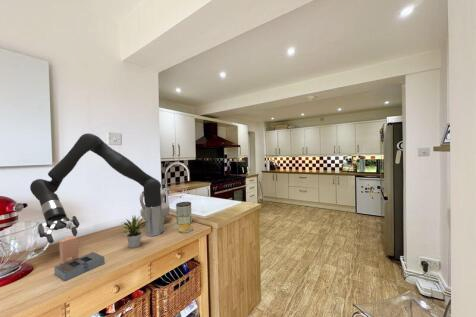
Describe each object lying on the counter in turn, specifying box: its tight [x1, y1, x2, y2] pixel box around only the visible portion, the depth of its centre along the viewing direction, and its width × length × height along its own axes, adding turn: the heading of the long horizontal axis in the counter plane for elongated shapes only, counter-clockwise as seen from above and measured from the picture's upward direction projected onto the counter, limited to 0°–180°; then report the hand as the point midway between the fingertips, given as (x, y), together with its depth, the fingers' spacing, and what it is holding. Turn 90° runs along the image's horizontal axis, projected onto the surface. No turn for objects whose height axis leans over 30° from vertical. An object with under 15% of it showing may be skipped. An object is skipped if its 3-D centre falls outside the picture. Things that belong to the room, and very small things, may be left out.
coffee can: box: [175, 201, 193, 226], centre depth 139 cm, size 10×10×14 cm
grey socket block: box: [53, 251, 105, 282], centre depth 84 cm, size 14×10×3 cm
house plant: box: [121, 215, 150, 249], centre depth 103 cm, size 14×14×16 cm
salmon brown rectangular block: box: [58, 235, 79, 265], centre depth 90 cm, size 6×4×11 cm, turn 150°
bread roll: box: [177, 224, 194, 234], centre depth 124 cm, size 8×9×4 cm
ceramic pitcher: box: [139, 187, 171, 223], centre depth 141 cm, size 22×20×25 cm
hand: (64, 238), depth 92 cm, fingers open, 8 cm apart
